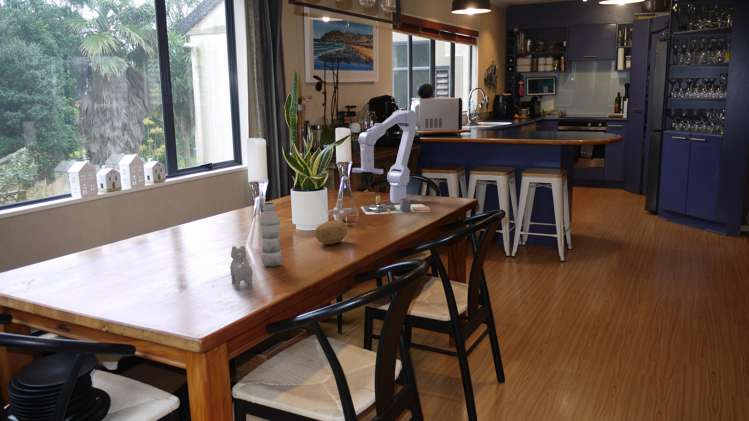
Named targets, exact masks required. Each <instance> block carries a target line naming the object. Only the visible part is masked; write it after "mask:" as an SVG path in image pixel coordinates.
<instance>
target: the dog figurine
mask: <svg viewBox="0 0 749 421" xmlns="http://www.w3.org/2000/svg"><path fill="white" fill-rule="evenodd" d="M245 247H246V246H244V245H240V246H239V247H237V246H236V245H235V246H231V251H230V257H231V258H232V261H231V263H230V268H229V269H230V277H231V284H233V285H235V289H234V290H235V291H240V287H241V285H240V284H241V282H242V281H243V282H245V283H248V287H247V289H253V287H254V286H253V268H252V266H251V265H250V262H249V261H248V260H247V252H246V248H245Z"/></svg>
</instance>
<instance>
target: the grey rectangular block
mask: <svg viewBox="0 0 749 421" xmlns="http://www.w3.org/2000/svg"><path fill="white" fill-rule="evenodd" d="M411 201H412V200H410V199H409V198H407V197H406V198H402V199H400V203H399V205H400V210H401V211H402V212H407V213H412V212H411V204H412V202H411Z"/></svg>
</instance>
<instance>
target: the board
mask: <svg viewBox="0 0 749 421" xmlns="http://www.w3.org/2000/svg"><path fill="white" fill-rule="evenodd" d="M394 205H395V207H396V211H393V210H391V211H390V212H388V213H387V212H379V213H375V212H371V211H370V212H365V210H364V206H360V209H361V210H362V211H363V213H364V214H365V215H383V214H387V215H388V214H401V213H403V214H406V213H408V212H402V211H401V210H400V204H394ZM425 212H426V213H427V212H432V209H431V208H430V207H429V206H425V205H424V204H423V203H417V204H416V203H415V204H414V203H413V204H412V203H411V212H410V213H425Z"/></svg>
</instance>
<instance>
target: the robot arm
mask: <svg viewBox="0 0 749 421" xmlns="http://www.w3.org/2000/svg"><path fill="white" fill-rule="evenodd" d="M417 120H418V115H417V113H416V112H415V111H414V110H413V109H409V110H403V109H397V110H395V111H393V112H392V114H391V115H390V116H389V117H387V118H386V119H385V120H384V121H383V122H381V123H380V122H377V123H374V124H373V126H372V127H370V128H368V129H367V130H366V131H363V132H360V133H359V136H358V138H357V141H358V144H359V148H360V167H353V168H351V170H352V173H358V174H360V178H361V179H362V182H363V184H364V188H365V190H370V189H371V186H372V182H373V179H374V177H375V175H376V174H378V175H382V174H384V168H376V167H374V166H375V155H374V154H375V152H374V150H375V146H374V145H375V144H376V142H377V141H378V139H380V138H381V137H382V136H384V135H385V134H386V132H387V130H388V129H389V128H392V127H393V126H395V125H396V124H397V125H398V126H399V127H400V129H401V130H402V134H401V140H400V144H399V148H398V152H397V155H396V156H397V157H396V161H395V163H394V164H393V165H392V166H390V169H389V171H388V172H387V175H386V177H387V178H386V179H387V182H388V183H389V185H390V189H389V200H390V202H391V203H393V204H400V199H402V198H407V186H408V183H410V173H411V170H410V169H409V168H408V162H409V158H410V154H411V150H412V148H413V147H412V146H413V141H414V139H415V135H416V134H415V133H416V129H417V128H416V125H417V122H418V121H417Z"/></svg>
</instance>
